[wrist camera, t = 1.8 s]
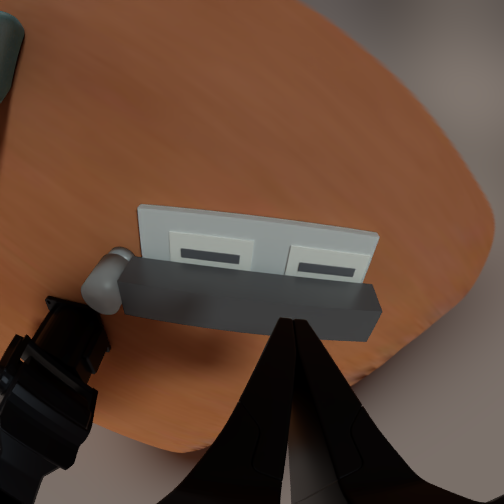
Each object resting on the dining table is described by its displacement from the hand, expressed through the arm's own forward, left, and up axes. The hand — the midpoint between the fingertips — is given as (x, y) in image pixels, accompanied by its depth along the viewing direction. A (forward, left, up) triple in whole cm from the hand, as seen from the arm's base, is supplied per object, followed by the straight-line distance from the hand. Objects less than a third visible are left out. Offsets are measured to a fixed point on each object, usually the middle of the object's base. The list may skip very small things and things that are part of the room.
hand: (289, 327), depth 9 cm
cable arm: (-3, -7, -10) cm, 12 cm away
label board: (-3, -7, -11) cm, 13 cm away
